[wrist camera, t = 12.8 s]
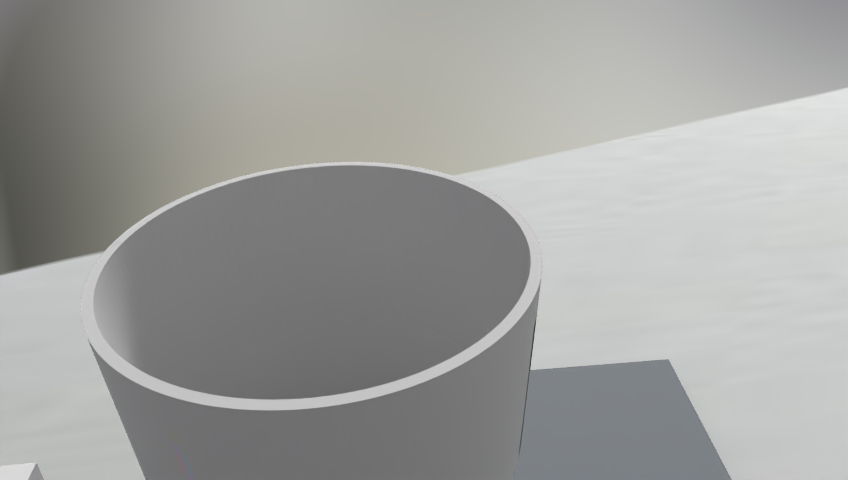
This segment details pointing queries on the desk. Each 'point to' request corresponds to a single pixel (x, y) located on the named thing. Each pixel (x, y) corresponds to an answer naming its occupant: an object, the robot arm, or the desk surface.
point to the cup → (321, 327)
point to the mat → (613, 426)
